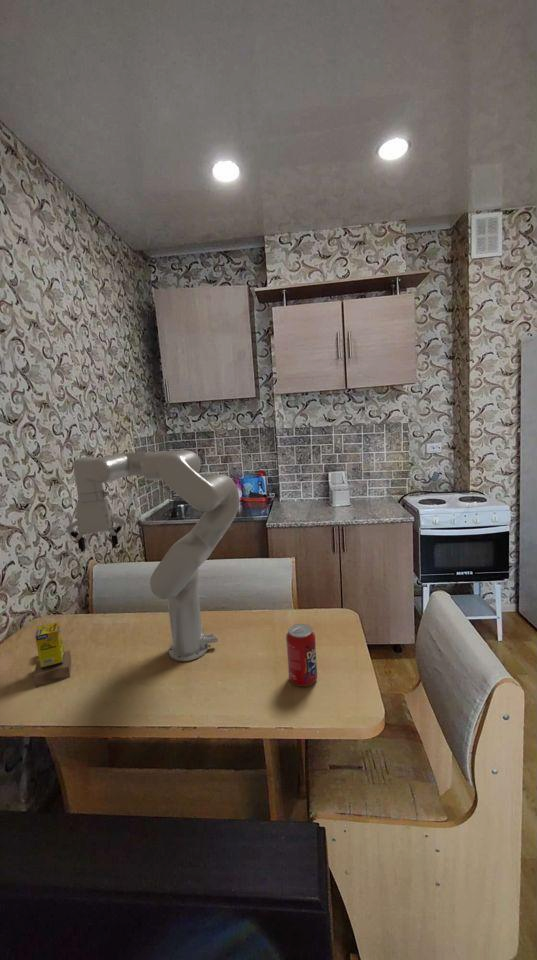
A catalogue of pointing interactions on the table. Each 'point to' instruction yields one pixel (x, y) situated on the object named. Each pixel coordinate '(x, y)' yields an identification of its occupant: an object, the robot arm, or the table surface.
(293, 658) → the soda can
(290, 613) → the table surface
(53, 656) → the supplement box
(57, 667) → the base block
